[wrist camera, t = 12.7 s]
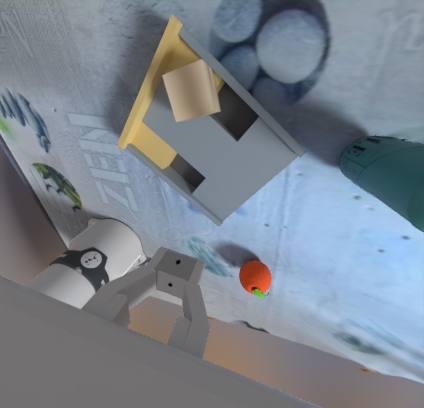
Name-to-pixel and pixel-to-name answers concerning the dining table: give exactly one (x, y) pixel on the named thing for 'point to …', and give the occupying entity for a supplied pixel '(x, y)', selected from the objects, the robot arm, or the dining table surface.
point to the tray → (205, 134)
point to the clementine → (255, 277)
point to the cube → (192, 91)
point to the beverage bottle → (389, 173)
